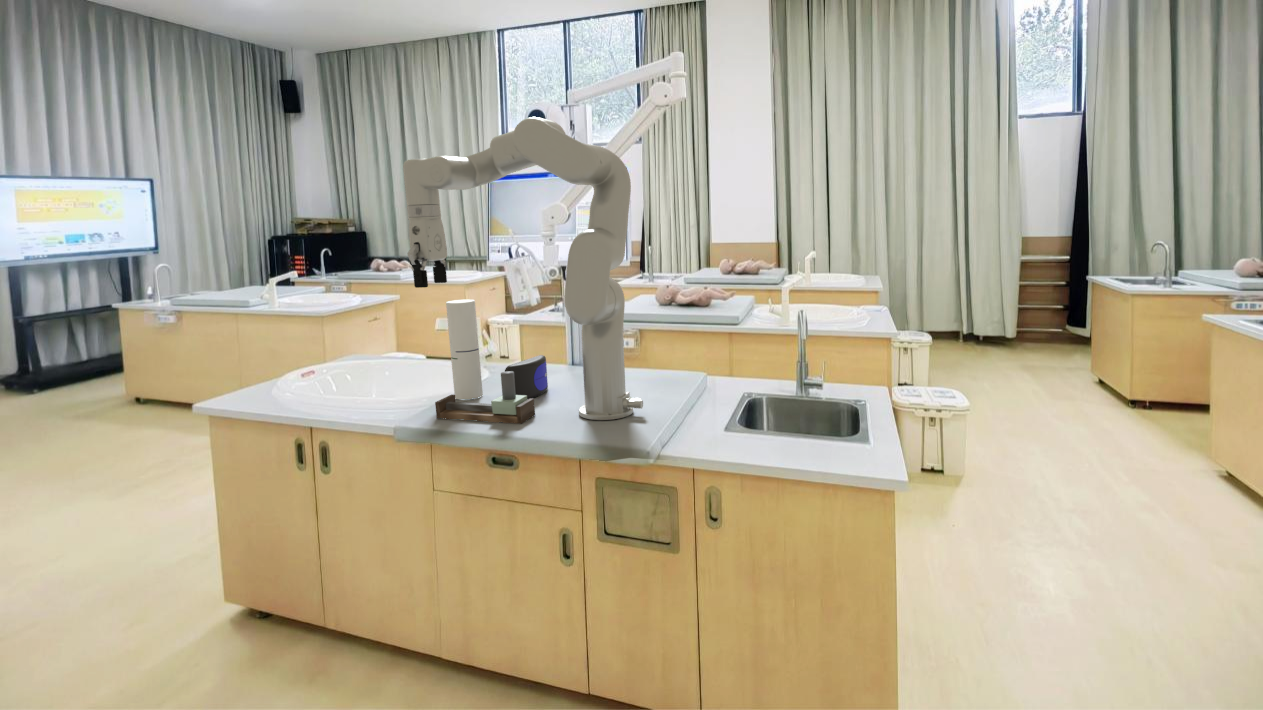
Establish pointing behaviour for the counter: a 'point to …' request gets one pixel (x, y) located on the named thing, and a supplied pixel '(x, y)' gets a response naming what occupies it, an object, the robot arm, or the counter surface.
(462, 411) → the board
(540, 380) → the black curved block
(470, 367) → the cylindrical container
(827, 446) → the counter surface
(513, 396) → the carriage
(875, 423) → the counter surface
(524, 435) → the counter surface
